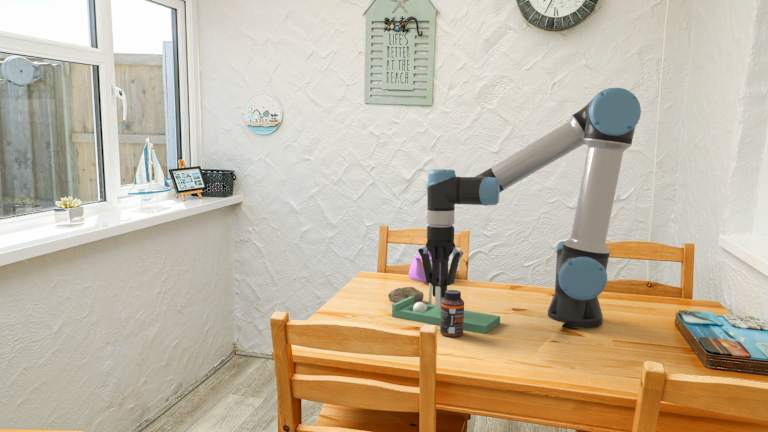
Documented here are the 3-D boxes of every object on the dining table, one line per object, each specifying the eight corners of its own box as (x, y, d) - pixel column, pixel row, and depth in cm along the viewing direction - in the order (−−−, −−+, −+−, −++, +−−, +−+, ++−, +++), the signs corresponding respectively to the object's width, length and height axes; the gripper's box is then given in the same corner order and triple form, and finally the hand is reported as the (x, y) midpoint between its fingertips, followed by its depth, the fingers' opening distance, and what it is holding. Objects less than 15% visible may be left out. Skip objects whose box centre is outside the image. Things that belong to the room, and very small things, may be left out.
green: (499, 323, 162) (500, 310, 162) (485, 333, 153) (485, 320, 153) (410, 307, 177) (410, 296, 176) (392, 316, 167) (392, 304, 167)
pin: (436, 309, 175) (437, 262, 173) (432, 312, 172) (433, 264, 171) (422, 307, 177) (423, 260, 176) (417, 309, 175) (419, 262, 173)
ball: (426, 299, 169) (415, 302, 171) (420, 302, 166) (408, 305, 168) (431, 312, 169) (419, 315, 171) (425, 316, 165) (413, 318, 167)
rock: (384, 303, 180) (384, 288, 179) (408, 297, 188) (408, 283, 187) (403, 308, 175) (403, 293, 174) (426, 302, 183) (427, 288, 182)
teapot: (398, 285, 205) (398, 254, 204) (422, 274, 223) (422, 245, 221) (433, 290, 199) (434, 258, 197) (455, 279, 216) (456, 249, 215)
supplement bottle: (457, 339, 148) (458, 295, 147) (436, 335, 151) (437, 292, 150) (466, 333, 153) (468, 290, 152) (446, 329, 156) (447, 287, 155)
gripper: (468, 225, 163) (466, 308, 165) (425, 222, 169) (425, 302, 172) (456, 228, 156) (455, 315, 159) (413, 225, 163) (412, 308, 166)
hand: (439, 308), depth 166 cm, fingers closed
